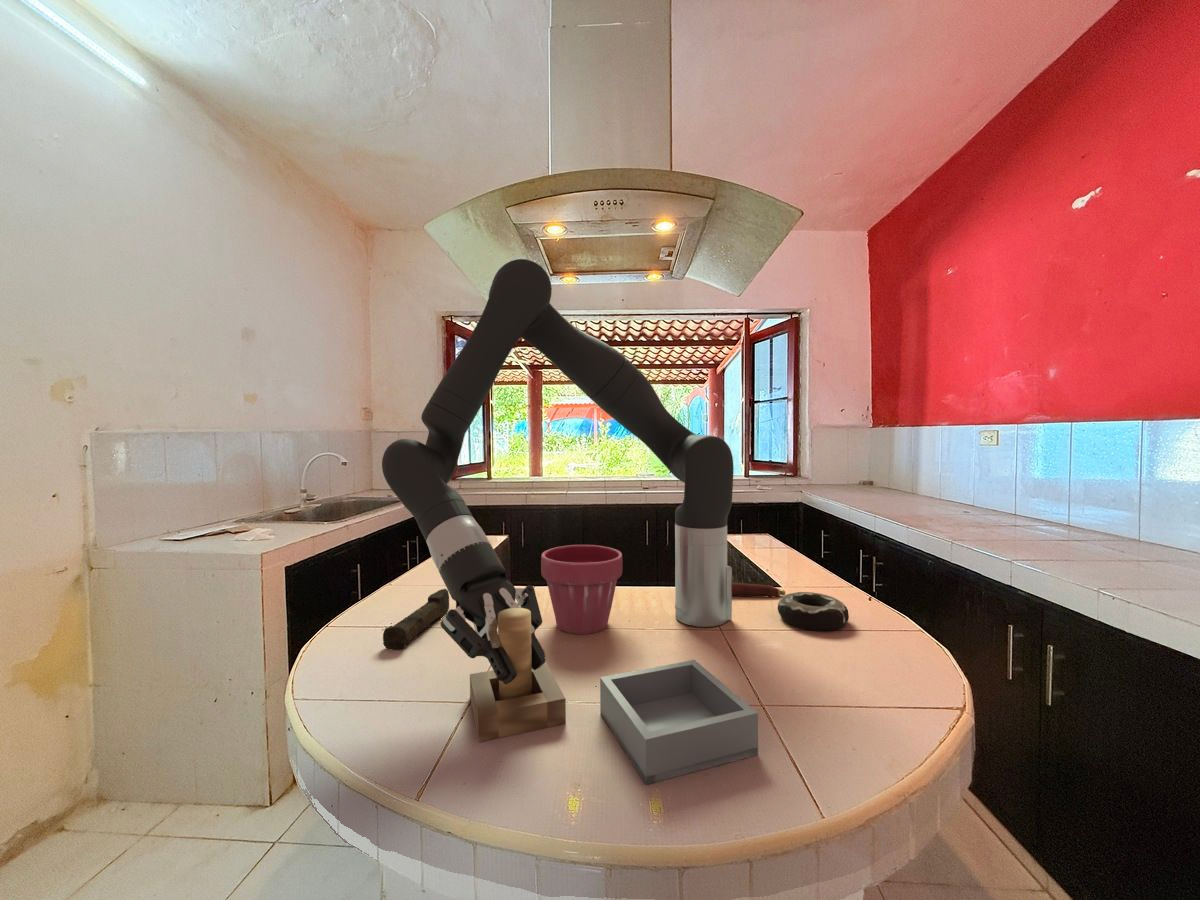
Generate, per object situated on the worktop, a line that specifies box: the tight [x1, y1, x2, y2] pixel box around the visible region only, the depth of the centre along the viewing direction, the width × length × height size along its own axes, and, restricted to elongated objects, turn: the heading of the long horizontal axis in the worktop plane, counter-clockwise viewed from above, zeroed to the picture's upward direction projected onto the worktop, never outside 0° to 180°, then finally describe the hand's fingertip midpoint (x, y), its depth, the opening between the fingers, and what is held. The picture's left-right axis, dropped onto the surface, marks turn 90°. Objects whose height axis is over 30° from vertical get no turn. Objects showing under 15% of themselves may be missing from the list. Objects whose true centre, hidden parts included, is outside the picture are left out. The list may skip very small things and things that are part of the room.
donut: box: [777, 591, 850, 632], centre depth 90 cm, size 12×12×4 cm
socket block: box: [469, 661, 567, 743], centre depth 62 cm, size 10×10×3 cm
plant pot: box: [540, 544, 623, 635], centre depth 88 cm, size 14×14×13 cm
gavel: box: [732, 581, 786, 598], centre depth 104 cm, size 21×5×10 cm
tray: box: [599, 659, 759, 786], centre depth 57 cm, size 13×13×4 cm
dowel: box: [497, 607, 533, 701], centre depth 62 cm, size 4×4×12 cm
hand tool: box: [382, 588, 450, 651], centre depth 88 cm, size 19×4×5 cm, turn 168°
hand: (525, 672), depth 60 cm, fingers closed on dowel, 4 cm apart
